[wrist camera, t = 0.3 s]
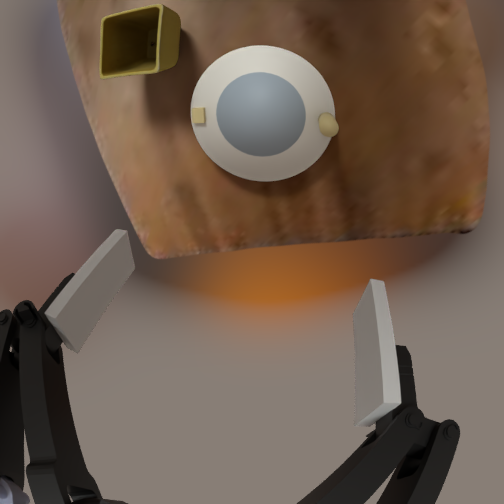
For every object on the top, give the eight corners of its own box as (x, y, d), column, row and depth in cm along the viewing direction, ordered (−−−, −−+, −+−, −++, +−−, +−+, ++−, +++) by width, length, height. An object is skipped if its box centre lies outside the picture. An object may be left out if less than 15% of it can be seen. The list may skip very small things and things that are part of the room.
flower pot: (190, 70, 31) (158, 73, 24) (137, 73, 32) (98, 80, 25) (195, 13, 26) (163, 2, 19) (140, 21, 27) (101, 17, 20)
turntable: (192, 50, 28) (169, 49, 23) (337, 51, 25) (343, 46, 20) (199, 173, 39) (181, 192, 34) (327, 183, 36) (329, 205, 31)
